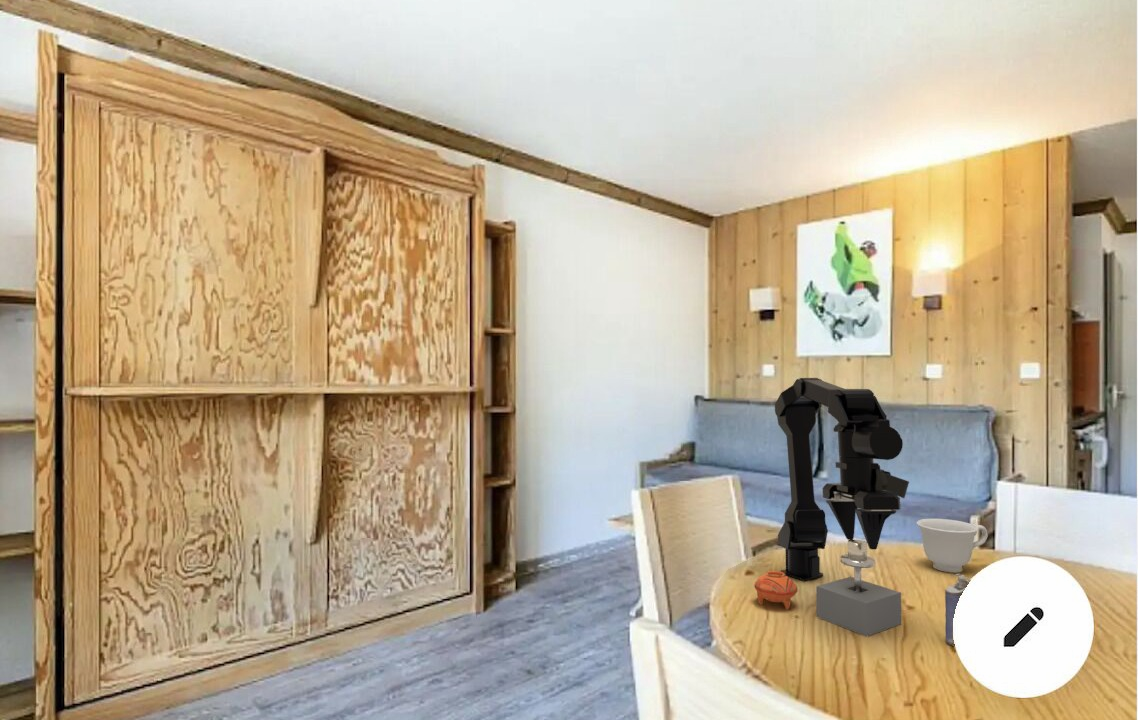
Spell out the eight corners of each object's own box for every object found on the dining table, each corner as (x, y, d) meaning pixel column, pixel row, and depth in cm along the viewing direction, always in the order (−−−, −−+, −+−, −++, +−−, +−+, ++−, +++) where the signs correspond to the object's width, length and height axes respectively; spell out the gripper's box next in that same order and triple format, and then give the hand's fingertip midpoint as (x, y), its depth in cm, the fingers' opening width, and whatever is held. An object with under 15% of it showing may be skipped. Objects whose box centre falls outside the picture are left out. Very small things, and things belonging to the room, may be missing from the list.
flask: (957, 648, 101) (956, 582, 101) (939, 642, 103) (938, 577, 103) (987, 636, 105) (986, 572, 106) (968, 630, 108) (967, 568, 108)
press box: (816, 616, 114) (816, 586, 114) (850, 606, 119) (850, 576, 119) (866, 636, 105) (866, 603, 106) (901, 624, 111) (900, 592, 111)
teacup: (1005, 577, 135) (1004, 531, 135) (936, 577, 135) (935, 531, 135) (970, 560, 147) (969, 518, 147) (907, 560, 147) (906, 518, 148)
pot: (763, 612, 116) (759, 573, 117) (751, 606, 123) (748, 570, 125) (806, 610, 116) (801, 572, 117) (792, 605, 123) (787, 569, 125)
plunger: (829, 596, 114) (828, 540, 114) (852, 590, 117) (852, 535, 117) (863, 609, 108) (862, 549, 108) (887, 601, 111) (886, 543, 111)
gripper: (928, 459, 105) (935, 554, 103) (876, 454, 123) (881, 534, 122) (862, 460, 105) (867, 555, 103) (819, 454, 123) (823, 535, 122)
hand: (861, 544), depth 113 cm, fingers open, 9 cm apart
